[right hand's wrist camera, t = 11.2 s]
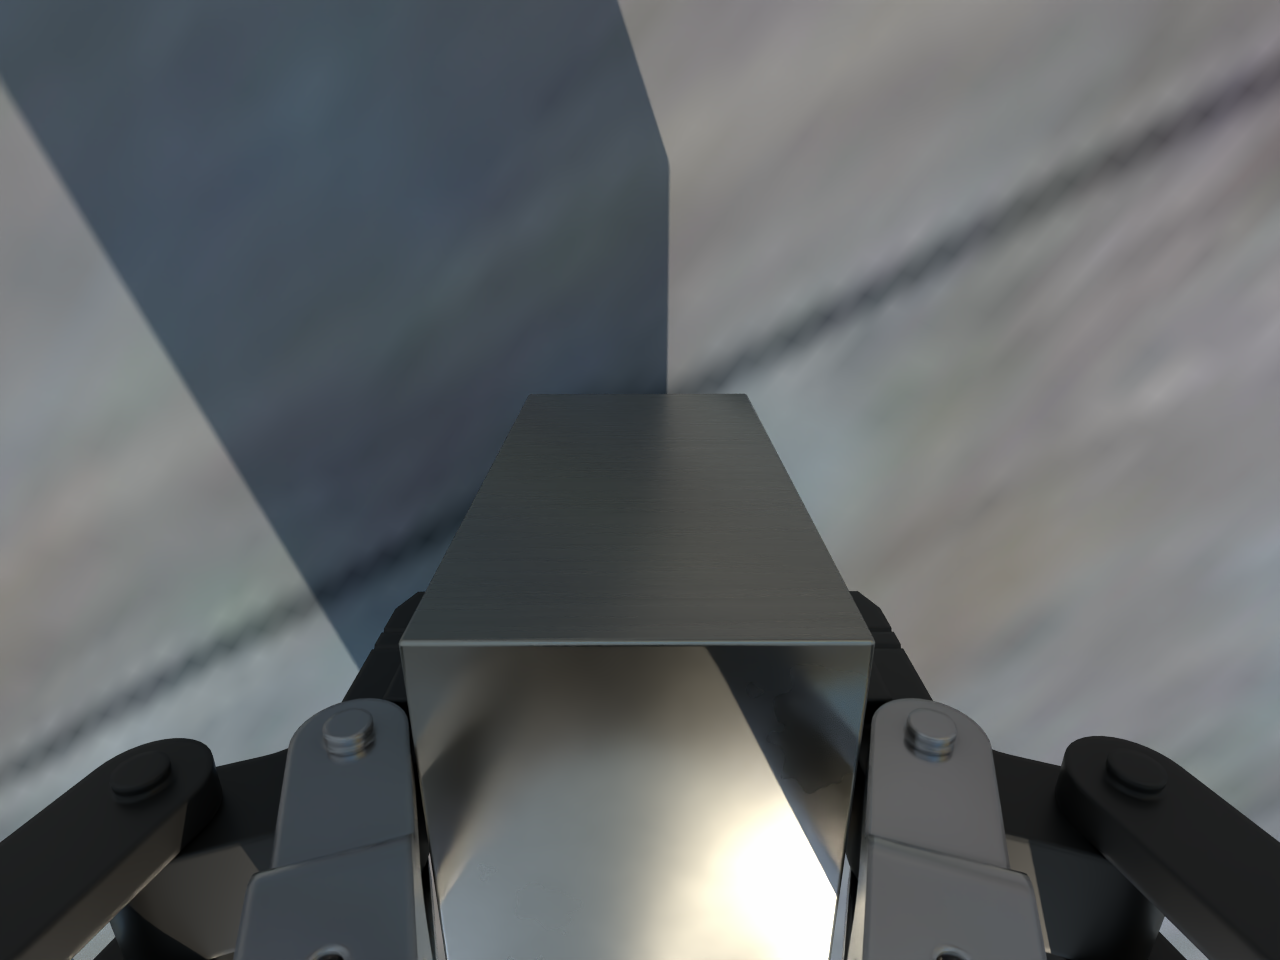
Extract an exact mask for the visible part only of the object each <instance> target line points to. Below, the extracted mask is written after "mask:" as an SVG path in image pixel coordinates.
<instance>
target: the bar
mask: <svg viewBox="0 0 1280 960" xmlns="http://www.w3.org/2000/svg"><path fill="white" fill-rule="evenodd" d="M874 647H875V641H874V638H873V636H872V634H871V632H870V631H869V629H868V627H867V625H866V623H865V621H864V619H863V617H862V615H861V613H860V611H859V609H858V607H857V606H856V604H855V602H854V600H853V598H852V596H851V594H850V592H849V590H848V588H847V586H846V584H845V583H844V581H843V579H842V577H841V575H840V573H839V571H838V569H837V567H836V565H835V563H834V561H833V560H832V558H831V556H830V554H829V552H828V550H827V548H826V546H825V544H824V542H823V540H822V538H821V536H820V535H819V533H818V531H817V529H816V527H815V525H814V523H813V521H812V519H811V517H810V515H809V513H808V512H807V510H806V508H805V506H804V504H803V502H802V500H801V498H800V496H799V494H798V492H797V490H796V488H795V487H794V485H793V483H792V481H791V479H790V477H789V475H788V473H787V471H786V469H785V467H784V465H783V464H782V462H781V460H780V458H779V456H778V454H777V452H776V450H775V448H774V446H773V444H772V442H771V441H770V439H769V437H768V435H767V433H766V431H765V429H764V427H763V425H762V423H761V421H760V419H759V417H758V416H757V414H756V412H755V410H754V408H753V406H752V404H751V402H750V400H749V398H748V396H747V395H746V394H531V395H529V396H528V398H527V400H526V402H525V404H524V406H523V408H522V409H521V411H520V413H519V415H518V417H517V419H516V421H515V423H514V425H513V427H512V428H511V430H510V432H509V434H508V436H507V438H506V440H505V442H504V444H503V446H502V447H501V449H500V451H499V453H498V455H497V457H496V459H495V461H494V463H493V464H492V466H491V468H490V470H489V472H488V474H487V476H486V478H485V480H484V482H483V483H482V485H481V487H480V489H479V491H478V493H477V495H476V497H475V499H474V501H473V502H472V504H471V506H470V508H469V510H468V512H467V514H466V516H465V518H464V520H463V521H462V523H461V525H460V527H459V529H458V531H457V533H456V535H455V537H454V539H453V540H452V542H451V544H450V546H449V548H448V550H447V552H446V554H445V556H444V558H443V559H442V561H441V563H440V565H439V567H438V569H437V571H436V573H435V575H434V577H433V578H432V580H431V582H430V584H429V586H428V588H427V590H426V592H425V594H424V595H423V597H422V599H421V601H420V603H419V605H418V607H417V609H416V611H415V613H414V614H413V616H412V618H411V620H410V622H409V624H408V626H407V628H406V630H405V632H404V633H403V635H402V637H401V639H400V642H399V648H400V655H401V662H402V668H403V675H404V682H405V689H406V695H407V702H408V709H409V715H410V722H411V729H412V736H413V742H414V749H415V756H416V763H417V769H418V776H419V783H420V789H421V796H422V803H423V810H424V816H425V823H426V830H427V836H428V843H429V850H430V857H431V863H432V870H433V877H434V883H435V890H436V897H437V904H438V910H439V917H440V924H441V930H442V937H443V944H444V951H445V957H446V960H830V958H831V951H832V944H833V937H834V930H835V923H836V916H837V909H838V902H839V894H840V887H841V880H842V873H843V866H844V859H845V852H846V845H847V838H848V831H849V824H850V817H851V810H852V803H853V795H854V788H855V781H856V774H857V767H858V760H859V753H860V746H861V739H862V732H863V725H864V718H865V711H866V704H867V696H868V689H869V682H870V675H871V668H872V661H873V654H874Z"/></svg>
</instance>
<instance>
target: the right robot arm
mask: <svg viewBox="0 0 1280 960" xmlns="http://www.w3.org/2000/svg"><path fill="white" fill-rule="evenodd" d="M849 592H850V594H851V596H852V598H853V600H854V602H855V604H856V606H857V607H858V609H859V611H860V613H861V615H862V617H863V619H864V621H865V623H866V625H867V627H868V629H869V631H870V632H871V634H872V636H873V638H874V641H875V647H874V654H873V661H872V668H871V675H870V682H869V689H868V696H867V704H866V711H865V718H864V725H863V732H862V739H861V746H860V753H859V760H858V767H857V774H856V781H855V788H854V795H853V803H852V810H851V817H850V824H849V831H848V838H847V845H846V855H847V859H848V862H849V865H850V872H849V878H848V888H847V901H846V913H845V926H844V938H843V951H842V960H1187V959H1186V958H1185V957H1184V956H1183V955H1182V954H1181V953H1180V952H1179V951H1178V950H1177V949H1176V948H1175V947H1174V946H1173V945H1172V944H1171V943H1170V942H1169V941H1168V940H1167V939H1166V938H1165V937H1164V936H1163V935H1162V934H1161V933H1160V932H1159V930H1160V927H1161V925H1162V922H1163V919H1164V917H1166V918H1167V919H1168V920H1169V921H1170V922H1171V923H1173V924H1174V925H1175V926H1176V927H1177V928H1178V929H1179V930H1180V931H1181V932H1182V933H1183V934H1184V935H1185V936H1186V937H1187V938H1188V939H1189V940H1190V941H1191V942H1192V943H1193V944H1194V945H1195V946H1196V947H1197V948H1198V949H1199V950H1200V951H1201V952H1202V953H1203V954H1204V955H1205V956H1206V957H1207V958H1208V959H1209V960H1280V842H1278V841H1277V840H1276V839H1274V838H1273V837H1272V836H1271V835H1269V834H1268V833H1267V832H1265V831H1264V830H1263V829H1261V828H1260V827H1259V826H1258V825H1256V824H1255V823H1254V822H1252V821H1251V820H1250V819H1248V818H1247V817H1246V816H1245V815H1243V814H1242V813H1241V812H1239V811H1238V810H1237V809H1235V808H1234V807H1233V806H1232V805H1230V804H1229V803H1228V802H1226V801H1225V800H1224V799H1222V798H1221V797H1220V796H1218V795H1217V794H1216V793H1215V792H1213V791H1212V790H1211V789H1209V788H1208V787H1207V786H1205V785H1204V784H1203V783H1202V782H1200V781H1199V780H1198V779H1196V778H1195V777H1194V776H1192V775H1191V774H1190V773H1189V772H1187V771H1186V770H1185V769H1183V768H1182V767H1181V766H1179V765H1178V764H1176V763H1175V762H1174V761H1172V760H1171V759H1169V758H1167V757H1165V756H1164V755H1162V754H1160V753H1158V752H1156V751H1154V750H1152V749H1150V748H1148V747H1145V746H1143V745H1140V744H1137V743H1134V742H1131V741H1128V740H1124V739H1119V738H1114V737H1106V736H1090V737H1084V738H1081V739H1078V740H1076V741H1074V742H1072V743H1071V744H1070V745H1069V746H1068V747H1067V749H1066V752H1065V754H1064V758H1063V761H1062V765H1061V766H1057V765H1053V764H1049V763H1044V762H1040V761H1035V760H1031V759H1026V758H1022V757H1017V756H1013V755H1009V754H1005V753H1002V752H998V751H995V750H993V749H992V747H991V744H990V741H989V739H988V737H987V735H986V733H985V732H984V731H983V730H982V728H981V727H980V726H979V725H978V724H977V723H976V722H975V721H973V720H972V719H971V718H969V717H968V716H967V715H965V714H963V713H962V712H960V711H958V710H956V709H954V708H952V707H950V706H947V705H944V704H942V703H939V702H935V701H933V700H932V698H931V697H930V695H929V693H928V691H927V690H926V688H925V686H924V684H923V683H922V681H921V679H920V677H919V676H918V674H917V672H916V670H915V669H914V667H913V665H912V663H911V662H910V660H909V658H908V656H907V654H906V653H905V651H904V649H901V644H900V642H899V640H898V639H897V637H896V635H895V633H894V632H892V631H891V626H890V625H889V623H888V621H887V619H886V618H885V616H884V614H883V612H882V611H881V609H880V608H879V607H878V606H877V605H875V604H874V603H873V602H871V601H870V600H869V599H867V598H866V597H865V596H863V595H862V594H861V593H859V592H858V591H849ZM424 594H425V592H417V593H416V594H415V595H413V596H412V597H411V598H409V599H408V600H407V601H405V602H404V603H403V604H401V605H400V606H399V607H397V608H396V609H395V611H394V612H393V614H392V616H391V618H390V619H389V621H388V623H387V625H386V626H385V628H384V633H381V635H380V637H379V638H378V640H377V642H376V644H375V648H374V649H372V651H371V652H370V654H369V656H368V657H367V659H366V661H365V663H364V664H363V666H362V668H361V670H360V671H359V673H358V675H357V676H356V678H355V680H354V682H353V683H352V685H351V687H350V689H349V690H348V692H347V694H346V695H345V697H344V699H343V701H342V702H341V703H338V704H336V705H333V706H330V707H328V708H326V709H324V710H322V711H320V712H318V713H317V714H315V715H313V716H312V717H311V718H309V719H308V720H307V721H305V722H304V723H303V724H302V725H301V726H300V727H299V728H298V730H297V731H296V732H295V733H294V735H293V737H292V739H291V741H290V744H289V747H288V749H285V750H282V751H279V752H277V753H273V754H270V755H266V756H262V757H258V758H253V759H249V760H244V761H240V762H236V763H231V764H227V765H222V766H218V767H216V766H215V762H214V758H213V755H212V753H211V750H210V749H209V748H208V747H207V746H206V745H205V744H203V743H202V742H199V741H196V740H193V739H186V738H172V739H164V740H159V741H154V742H150V743H147V744H143V745H140V746H138V747H135V748H133V749H130V750H128V751H126V752H123V753H121V754H119V755H117V756H115V757H114V758H112V759H110V760H109V761H107V762H105V763H104V764H102V765H101V766H100V767H98V768H97V769H95V770H94V771H93V772H91V773H90V774H89V775H88V776H86V777H85V778H84V779H82V780H81V781H80V782H78V783H77V784H76V785H75V786H73V787H72V788H71V789H69V790H68V791H67V792H65V793H64V794H63V795H61V796H60V797H59V798H58V799H56V800H55V801H54V802H52V803H51V804H50V805H48V806H47V807H46V808H45V809H43V810H42V811H41V812H39V813H38V814H37V815H35V816H34V817H33V818H32V819H30V820H29V821H28V822H26V823H25V824H24V825H22V826H21V827H20V828H19V829H17V830H16V831H15V832H13V833H12V834H11V835H9V836H8V837H7V838H6V839H4V840H3V841H2V842H0V960H71V959H72V958H73V957H74V956H75V955H76V954H77V953H78V952H79V951H80V950H81V949H82V948H83V947H84V946H85V945H86V944H87V943H88V942H89V941H90V940H91V939H92V938H93V937H94V936H95V935H96V934H97V933H98V932H99V931H100V930H101V929H102V928H103V927H104V926H105V925H106V924H107V923H108V922H109V921H110V924H111V927H112V929H113V932H114V934H115V938H114V939H113V940H112V941H111V942H110V943H109V944H108V945H107V946H106V947H105V948H104V949H103V950H102V951H101V952H100V953H99V954H98V955H97V956H96V957H95V958H94V959H93V960H438V951H437V939H436V926H435V914H434V901H433V889H432V879H431V872H430V865H429V858H428V856H429V853H430V850H429V843H428V836H427V830H426V823H425V816H424V810H423V803H422V796H421V789H420V783H419V776H418V769H417V763H416V756H415V749H414V742H413V736H412V729H411V722H410V715H409V709H408V702H407V695H406V689H405V682H404V675H403V668H402V662H401V655H400V648H399V642H400V639H401V637H402V635H403V633H404V632H405V630H406V628H407V626H408V624H409V622H410V620H411V618H412V616H413V614H414V613H415V611H416V609H417V607H418V605H419V603H420V601H421V599H422V597H423V595H424Z"/></svg>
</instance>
